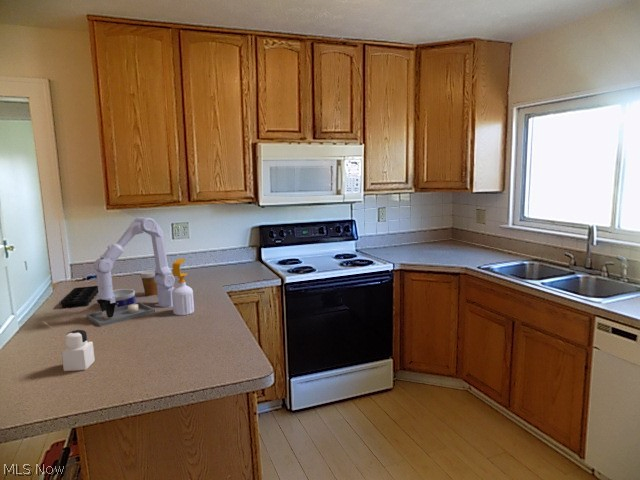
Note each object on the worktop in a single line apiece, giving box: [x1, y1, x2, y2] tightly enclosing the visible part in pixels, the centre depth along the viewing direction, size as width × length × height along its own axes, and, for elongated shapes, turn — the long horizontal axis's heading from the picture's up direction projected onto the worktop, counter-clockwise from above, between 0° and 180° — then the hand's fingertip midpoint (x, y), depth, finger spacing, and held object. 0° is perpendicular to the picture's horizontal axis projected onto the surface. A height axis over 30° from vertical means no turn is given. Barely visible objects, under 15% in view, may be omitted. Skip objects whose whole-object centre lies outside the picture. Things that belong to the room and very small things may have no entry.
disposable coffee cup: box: [140, 269, 158, 297], centre depth 230 cm, size 10×10×12 cm
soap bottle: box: [171, 258, 195, 316], centre depth 199 cm, size 9×9×25 cm
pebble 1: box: [102, 310, 114, 320], centre depth 193 cm, size 4×4×3 cm
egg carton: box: [59, 285, 98, 309], centre depth 225 cm, size 18×30×4 cm, turn 28°
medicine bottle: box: [61, 329, 96, 372], centre depth 146 cm, size 7×7×12 cm
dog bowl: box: [113, 288, 136, 308], centre depth 215 cm, size 15×15×6 cm
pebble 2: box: [128, 304, 139, 314], centre depth 201 cm, size 4×4×3 cm
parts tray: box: [85, 301, 156, 327], centre depth 197 cm, size 24×16×2 cm, turn 136°
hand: (108, 315), depth 193 cm, fingers closed on pebble 1, 4 cm apart
